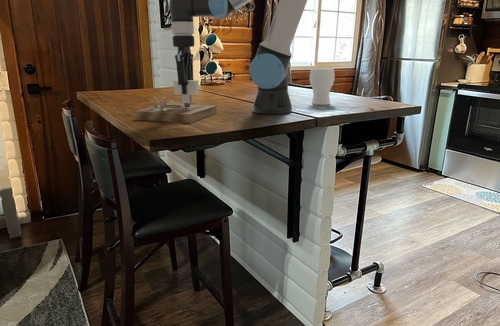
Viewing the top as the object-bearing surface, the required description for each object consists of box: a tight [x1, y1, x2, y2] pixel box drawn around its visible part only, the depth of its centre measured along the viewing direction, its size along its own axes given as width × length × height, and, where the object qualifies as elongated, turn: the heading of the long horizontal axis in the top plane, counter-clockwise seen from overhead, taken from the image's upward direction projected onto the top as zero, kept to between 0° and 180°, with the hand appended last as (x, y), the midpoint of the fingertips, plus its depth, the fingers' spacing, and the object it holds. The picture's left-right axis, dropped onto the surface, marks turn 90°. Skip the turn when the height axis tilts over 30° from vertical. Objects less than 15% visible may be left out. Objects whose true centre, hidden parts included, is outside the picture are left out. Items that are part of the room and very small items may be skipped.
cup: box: [309, 67, 336, 106], centre depth 167 cm, size 11×11×15 cm
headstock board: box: [135, 97, 218, 124], centre depth 141 cm, size 22×20×7 cm
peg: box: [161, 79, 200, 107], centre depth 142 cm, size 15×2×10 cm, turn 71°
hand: (187, 102), depth 142 cm, fingers closed on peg, 3 cm apart
